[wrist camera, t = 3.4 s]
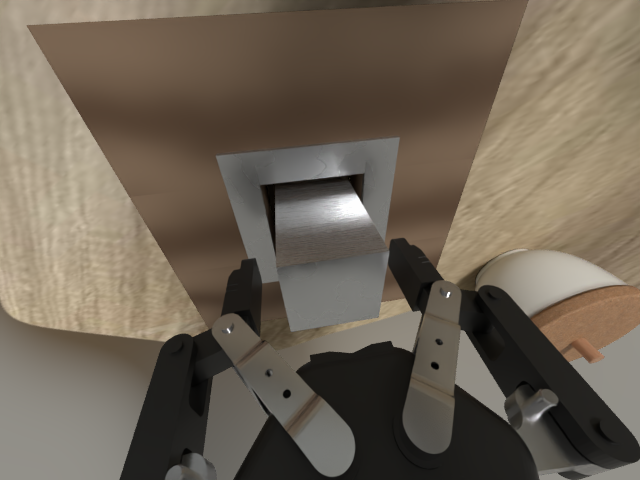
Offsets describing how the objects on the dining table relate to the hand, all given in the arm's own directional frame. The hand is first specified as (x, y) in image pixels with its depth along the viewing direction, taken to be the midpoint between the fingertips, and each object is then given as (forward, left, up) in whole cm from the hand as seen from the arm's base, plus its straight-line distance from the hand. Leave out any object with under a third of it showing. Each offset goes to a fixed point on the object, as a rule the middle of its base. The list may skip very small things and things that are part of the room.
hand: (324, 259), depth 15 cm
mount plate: (0, 0, -7) cm, 7 cm away
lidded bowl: (+13, +23, -7) cm, 27 cm away
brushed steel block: (0, 0, -7) cm, 7 cm away
